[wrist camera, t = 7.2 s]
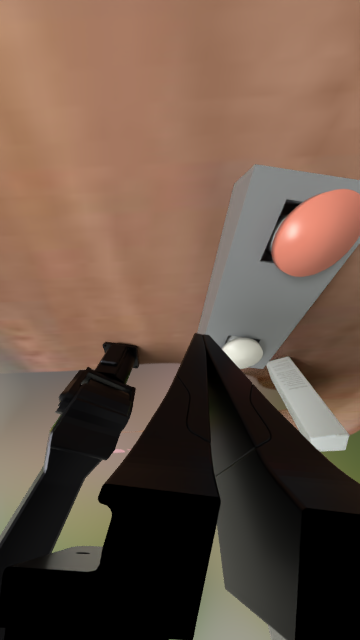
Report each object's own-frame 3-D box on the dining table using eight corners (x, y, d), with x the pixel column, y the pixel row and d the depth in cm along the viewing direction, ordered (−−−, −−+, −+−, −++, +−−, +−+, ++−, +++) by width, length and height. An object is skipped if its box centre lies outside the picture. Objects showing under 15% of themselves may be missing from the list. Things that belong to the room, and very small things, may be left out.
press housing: (250, 345, 25) (262, 369, 20) (195, 338, 24) (197, 360, 20) (336, 198, 13) (402, 186, 9) (234, 183, 13) (255, 164, 9)
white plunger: (241, 344, 23) (252, 370, 19) (212, 340, 23) (217, 366, 19) (254, 320, 20) (270, 345, 16) (220, 316, 20) (228, 339, 16)
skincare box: (292, 372, 28) (346, 450, 19) (270, 377, 30) (310, 452, 20) (289, 355, 26) (351, 436, 16) (264, 361, 27) (308, 439, 17)
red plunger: (288, 265, 15) (326, 280, 11) (243, 259, 15) (264, 272, 11) (321, 205, 12) (390, 195, 8) (265, 197, 12) (305, 182, 8)
